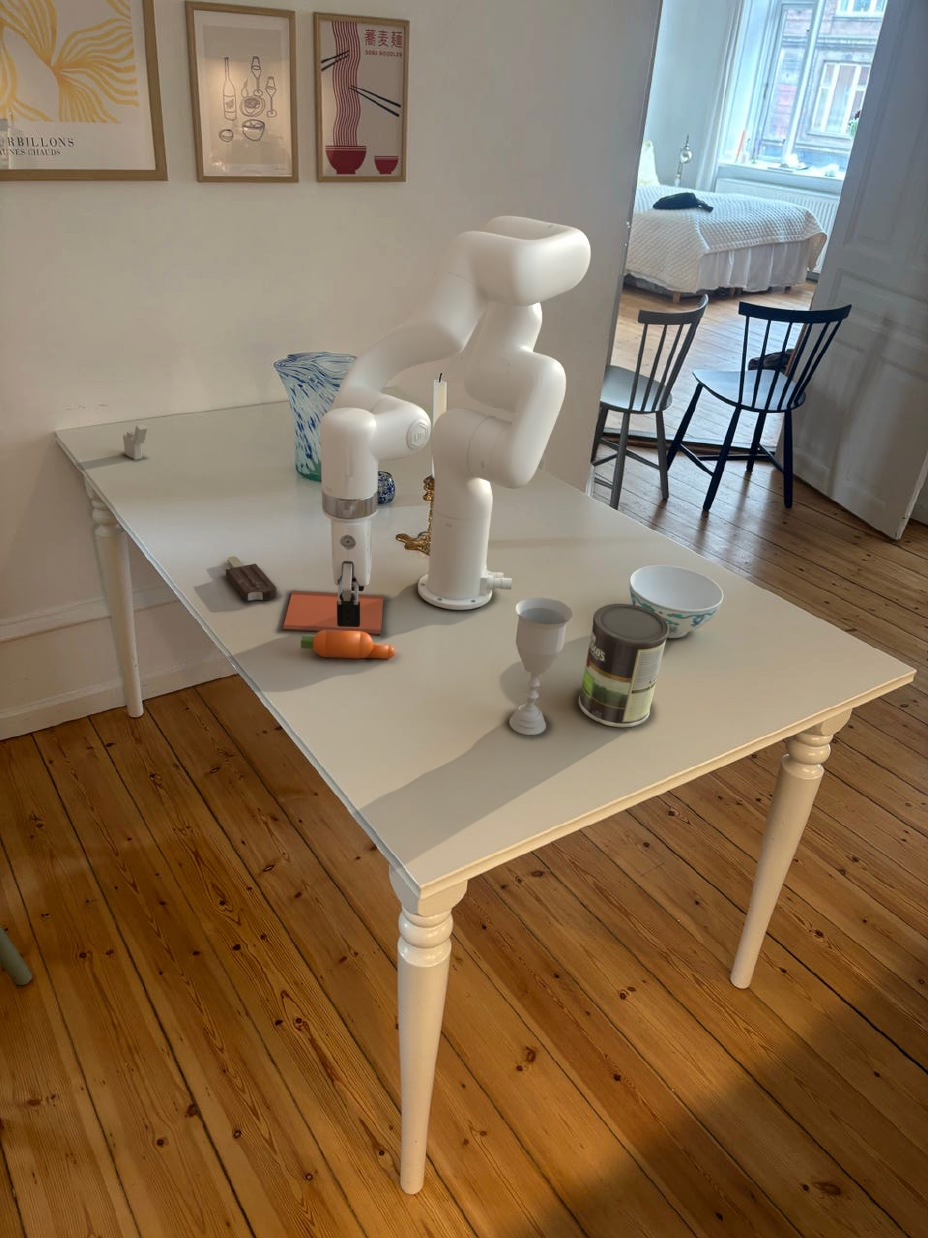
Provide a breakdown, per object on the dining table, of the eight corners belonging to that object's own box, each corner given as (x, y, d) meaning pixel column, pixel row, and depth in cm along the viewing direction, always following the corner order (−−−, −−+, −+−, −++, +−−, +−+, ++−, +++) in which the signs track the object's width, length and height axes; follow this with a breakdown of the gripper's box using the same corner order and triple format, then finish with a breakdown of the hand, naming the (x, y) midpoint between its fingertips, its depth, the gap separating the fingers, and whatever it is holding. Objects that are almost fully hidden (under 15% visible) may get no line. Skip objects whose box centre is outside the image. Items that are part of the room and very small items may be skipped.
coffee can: (585, 727, 128) (601, 641, 121) (572, 684, 137) (587, 601, 130) (658, 729, 129) (678, 643, 122) (640, 686, 138) (658, 604, 131)
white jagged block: (124, 453, 198) (120, 417, 194) (131, 452, 199) (128, 416, 195) (142, 463, 194) (139, 427, 190) (150, 462, 195) (146, 425, 191)
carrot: (394, 650, 141) (396, 628, 139) (394, 665, 137) (395, 642, 135) (302, 646, 140) (302, 623, 138) (300, 660, 136) (299, 637, 134)
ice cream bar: (216, 564, 159) (248, 604, 149) (215, 555, 158) (247, 595, 148) (245, 559, 162) (279, 598, 151) (245, 550, 161) (278, 589, 150)
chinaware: (603, 620, 154) (610, 579, 150) (660, 596, 163) (669, 557, 159) (673, 662, 145) (684, 619, 141) (731, 635, 153) (742, 594, 149)
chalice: (551, 710, 131) (568, 599, 122) (556, 740, 125) (576, 626, 116) (499, 707, 130) (513, 596, 121) (502, 737, 125) (517, 622, 115)
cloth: (383, 597, 154) (383, 595, 154) (380, 635, 144) (380, 633, 144) (292, 592, 153) (292, 590, 153) (282, 630, 143) (282, 628, 143)
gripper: (374, 531, 119) (374, 641, 128) (380, 475, 134) (379, 578, 143) (315, 528, 119) (319, 640, 128) (327, 473, 133) (330, 576, 142)
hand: (351, 607), depth 135 cm, fingers open, 9 cm apart
